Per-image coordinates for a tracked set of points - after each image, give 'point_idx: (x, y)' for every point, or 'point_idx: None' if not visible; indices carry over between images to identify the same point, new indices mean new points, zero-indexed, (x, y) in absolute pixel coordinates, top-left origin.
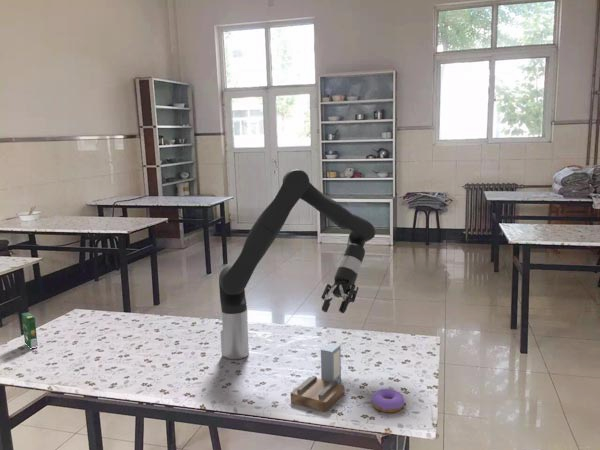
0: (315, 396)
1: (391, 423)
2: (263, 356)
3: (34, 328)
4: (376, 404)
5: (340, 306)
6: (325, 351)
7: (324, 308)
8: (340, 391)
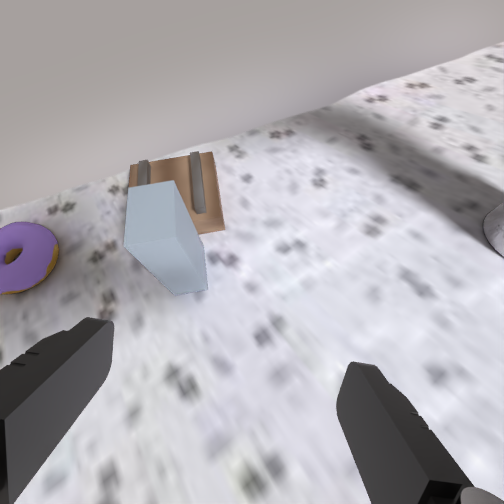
0: (160, 167)
1: (13, 215)
2: (462, 276)
3: None
4: (37, 224)
5: (74, 343)
6: (155, 185)
7: (357, 386)
8: None
